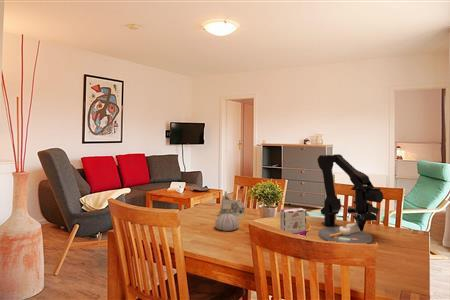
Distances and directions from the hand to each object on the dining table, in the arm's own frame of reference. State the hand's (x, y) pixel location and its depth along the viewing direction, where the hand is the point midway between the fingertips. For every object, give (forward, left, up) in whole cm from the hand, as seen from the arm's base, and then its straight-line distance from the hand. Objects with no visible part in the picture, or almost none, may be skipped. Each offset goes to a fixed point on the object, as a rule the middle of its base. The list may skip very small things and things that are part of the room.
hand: (361, 230), depth 156 cm
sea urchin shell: (-19, -66, -3) cm, 69 cm away
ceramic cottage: (-45, -60, -3) cm, 75 cm away
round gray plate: (0, -9, -3) cm, 9 cm away
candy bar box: (+8, -38, -3) cm, 39 cm away
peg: (0, -8, -1) cm, 8 cm away
